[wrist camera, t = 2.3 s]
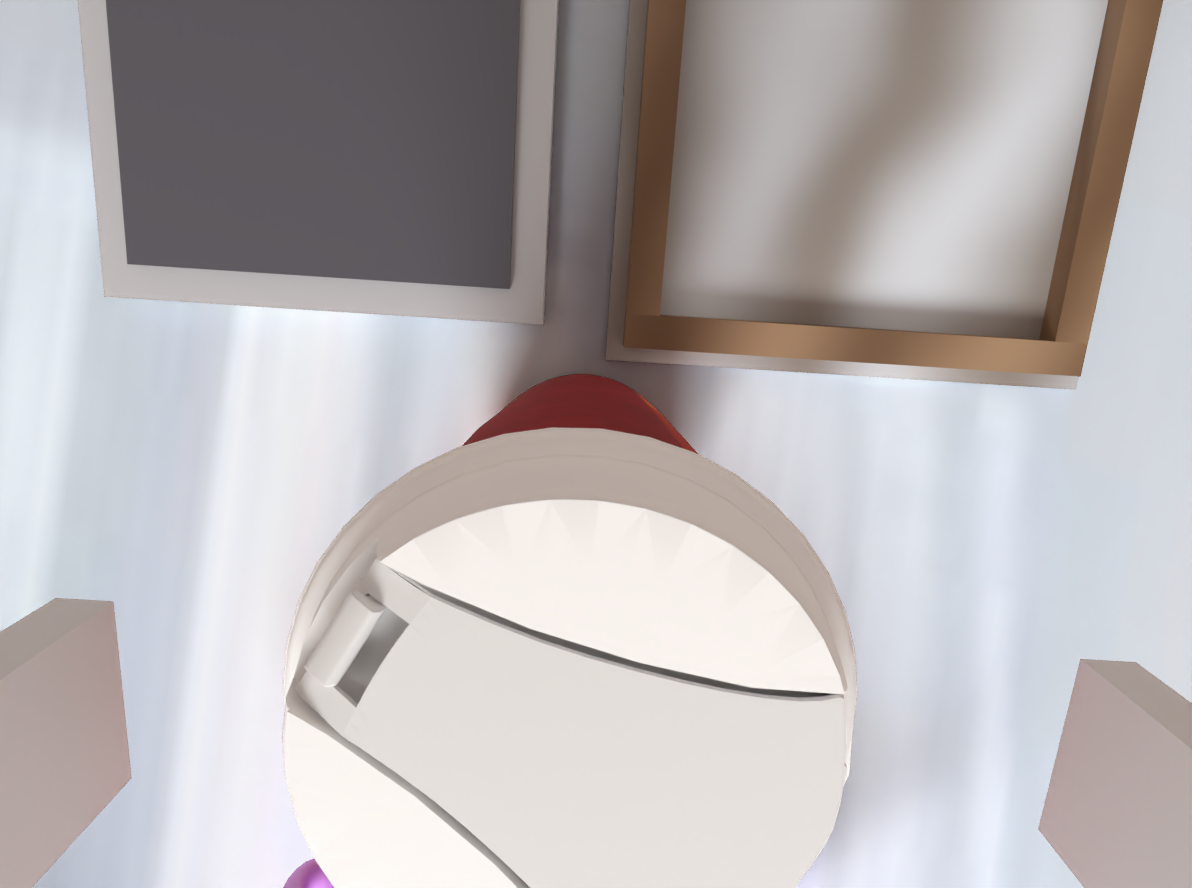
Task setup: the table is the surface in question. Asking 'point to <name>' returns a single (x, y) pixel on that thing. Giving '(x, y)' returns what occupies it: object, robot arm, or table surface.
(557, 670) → the coffee cup
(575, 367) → the table surface
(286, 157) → the ink pad
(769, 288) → the wooden picture frame
